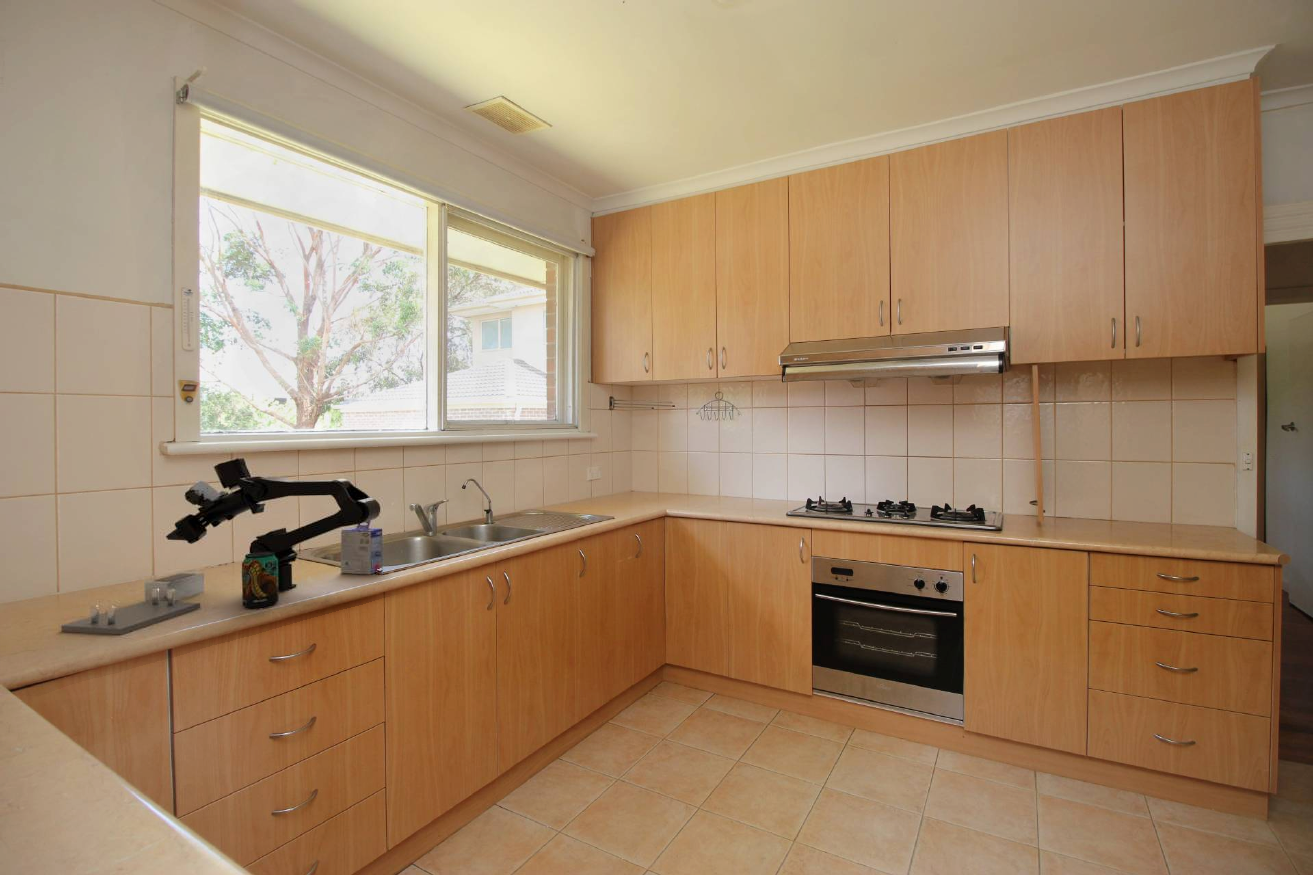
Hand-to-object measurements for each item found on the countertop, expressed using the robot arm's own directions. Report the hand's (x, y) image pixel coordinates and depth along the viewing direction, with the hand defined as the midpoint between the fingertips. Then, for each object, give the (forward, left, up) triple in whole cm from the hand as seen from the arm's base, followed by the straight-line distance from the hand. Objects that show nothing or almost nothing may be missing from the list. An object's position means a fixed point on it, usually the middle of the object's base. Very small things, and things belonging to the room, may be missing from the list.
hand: (178, 529), depth 158 cm
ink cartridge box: (-35, -23, -15) cm, 45 cm away
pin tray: (-13, +23, -15) cm, 30 cm away
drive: (-6, +7, -15) cm, 18 cm away
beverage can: (-32, +10, -15) cm, 37 cm away
